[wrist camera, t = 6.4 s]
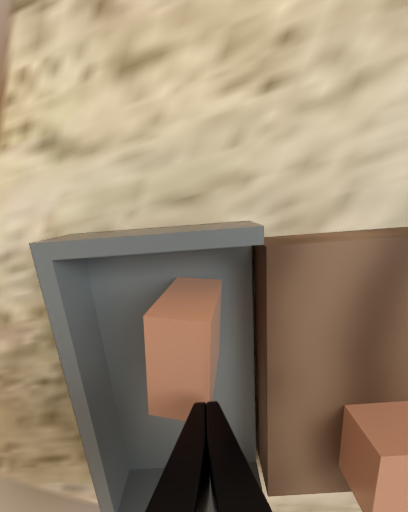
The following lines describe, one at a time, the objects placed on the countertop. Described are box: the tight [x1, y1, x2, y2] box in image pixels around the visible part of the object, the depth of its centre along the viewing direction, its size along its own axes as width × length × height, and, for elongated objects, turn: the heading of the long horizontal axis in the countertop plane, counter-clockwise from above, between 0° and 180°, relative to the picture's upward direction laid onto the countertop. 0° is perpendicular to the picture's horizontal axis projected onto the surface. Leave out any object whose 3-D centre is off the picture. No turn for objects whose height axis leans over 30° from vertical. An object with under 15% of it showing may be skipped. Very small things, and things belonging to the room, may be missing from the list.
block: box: [339, 401, 408, 512], centre depth 11 cm, size 4×4×2 cm
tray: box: [29, 221, 264, 512], centre depth 13 cm, size 10×18×3 cm, turn 4°
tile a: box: [143, 277, 222, 421], centre depth 10 cm, size 4×4×2 cm
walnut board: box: [254, 227, 408, 496], centre depth 13 cm, size 12×16×2 cm
